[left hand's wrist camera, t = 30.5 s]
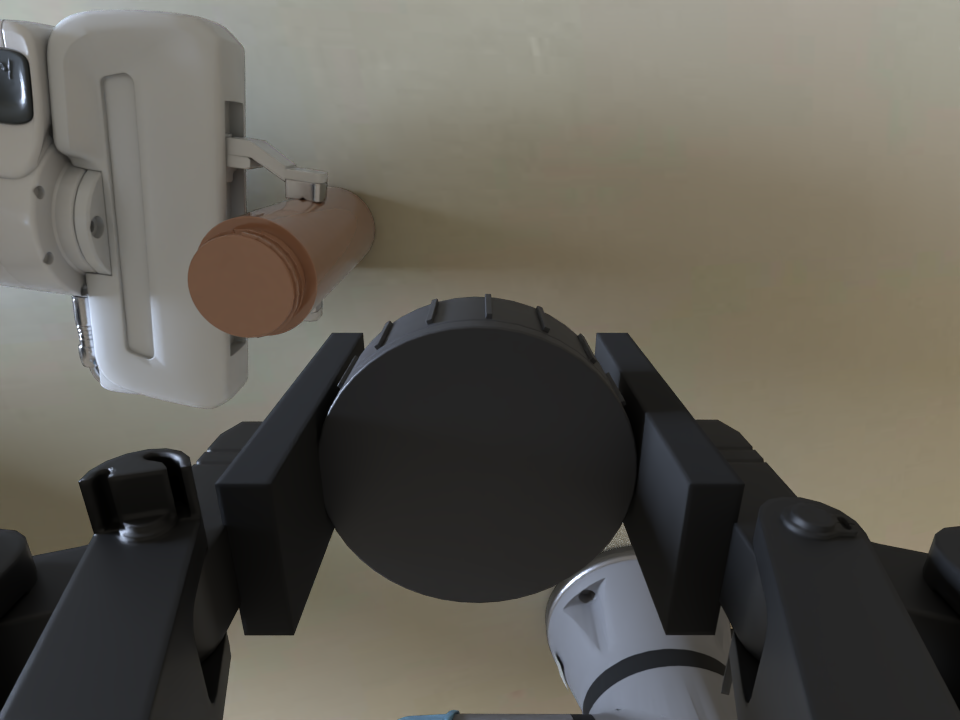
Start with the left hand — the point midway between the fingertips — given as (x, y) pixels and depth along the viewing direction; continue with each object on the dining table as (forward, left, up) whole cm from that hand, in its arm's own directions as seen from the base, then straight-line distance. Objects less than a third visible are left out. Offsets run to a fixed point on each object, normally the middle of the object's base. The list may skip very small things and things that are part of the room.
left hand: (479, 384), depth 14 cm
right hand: (+9, 0, -18) cm, 20 cm away
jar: (+9, 0, -25) cm, 27 cm away
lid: (0, 0, +4) cm, 4 cm away
